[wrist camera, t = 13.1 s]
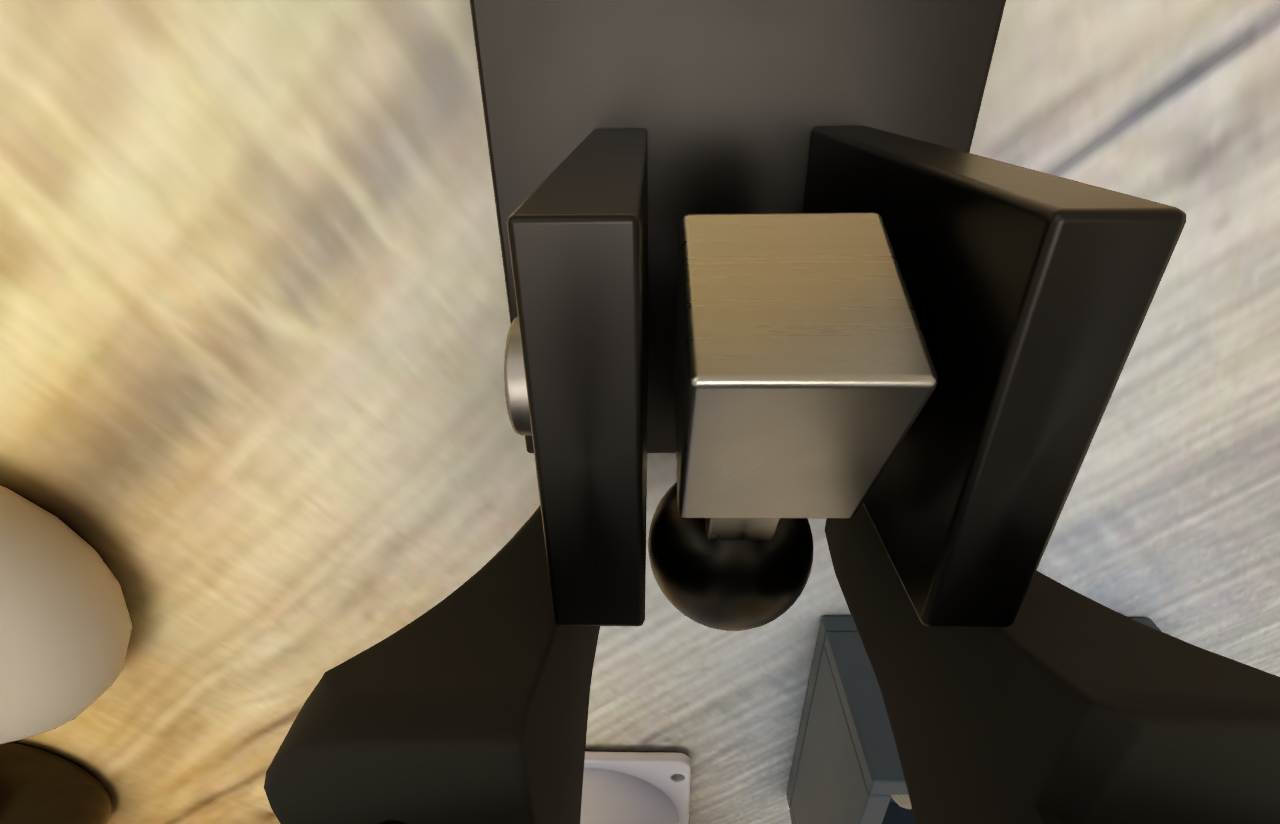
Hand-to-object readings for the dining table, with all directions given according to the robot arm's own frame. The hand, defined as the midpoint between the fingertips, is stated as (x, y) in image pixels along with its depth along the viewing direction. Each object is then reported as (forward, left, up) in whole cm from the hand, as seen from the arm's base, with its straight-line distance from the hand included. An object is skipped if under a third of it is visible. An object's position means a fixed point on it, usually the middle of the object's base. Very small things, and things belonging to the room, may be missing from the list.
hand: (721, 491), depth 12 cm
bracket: (+4, 0, -3) cm, 6 cm away
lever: (+3, 0, +1) cm, 3 cm away
